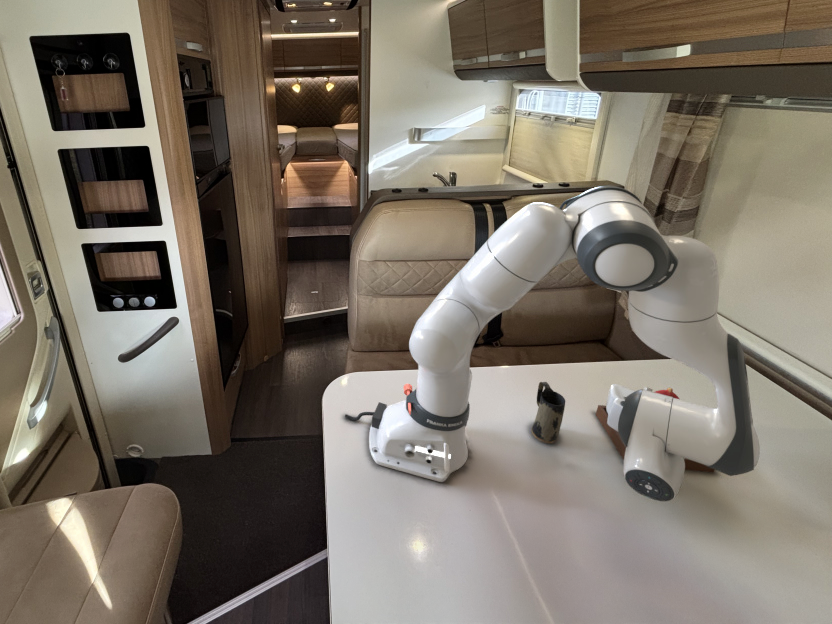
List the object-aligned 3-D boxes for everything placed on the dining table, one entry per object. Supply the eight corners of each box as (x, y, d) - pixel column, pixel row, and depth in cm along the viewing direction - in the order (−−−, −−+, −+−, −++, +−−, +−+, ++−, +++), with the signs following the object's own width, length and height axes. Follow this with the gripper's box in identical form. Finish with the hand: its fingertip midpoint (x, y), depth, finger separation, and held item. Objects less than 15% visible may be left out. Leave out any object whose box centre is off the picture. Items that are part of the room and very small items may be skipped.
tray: (625, 463, 94) (629, 453, 93) (595, 414, 107) (598, 404, 106) (713, 472, 92) (718, 462, 91) (671, 421, 105) (675, 411, 104)
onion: (682, 428, 93) (693, 400, 90) (652, 424, 94) (663, 396, 91) (667, 409, 99) (678, 381, 96) (640, 406, 100) (649, 378, 97)
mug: (562, 443, 99) (573, 403, 95) (539, 444, 99) (549, 404, 94) (544, 417, 106) (553, 379, 102) (522, 418, 106) (531, 380, 102)
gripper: (734, 451, 78) (734, 409, 88) (605, 398, 91) (617, 366, 100) (722, 475, 80) (724, 432, 90) (598, 420, 93) (611, 388, 103)
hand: (667, 397), depth 95 cm, fingers closed on onion, 6 cm apart
